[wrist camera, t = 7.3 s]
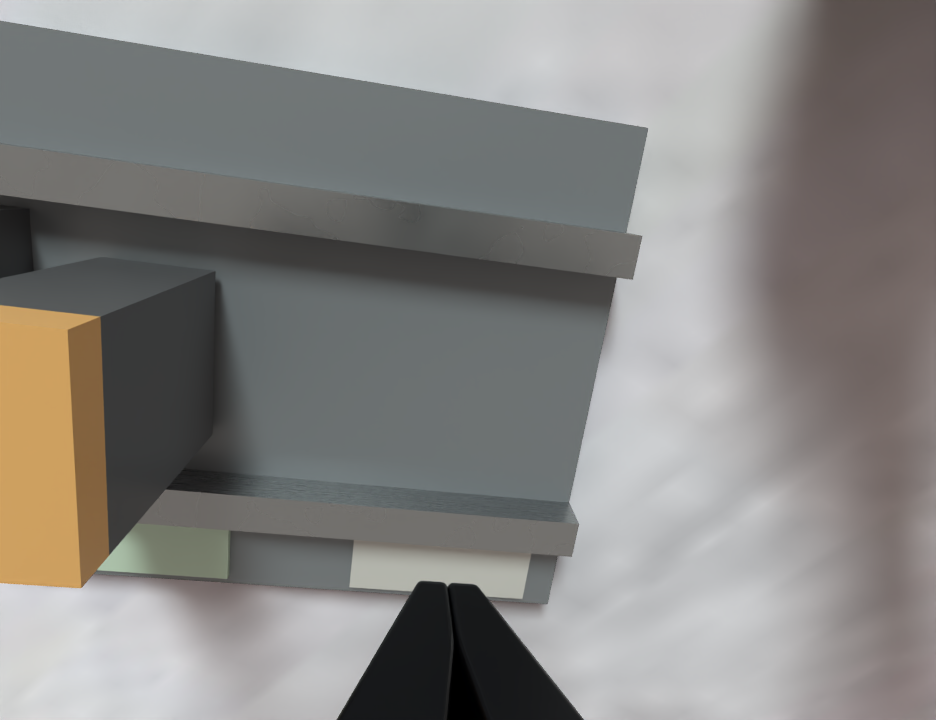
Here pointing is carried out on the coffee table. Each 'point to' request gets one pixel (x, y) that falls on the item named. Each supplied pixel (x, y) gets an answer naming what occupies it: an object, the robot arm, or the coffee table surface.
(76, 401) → the handle
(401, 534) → the panel
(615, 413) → the coffee table surface
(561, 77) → the coffee table surface
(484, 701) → the robot arm
